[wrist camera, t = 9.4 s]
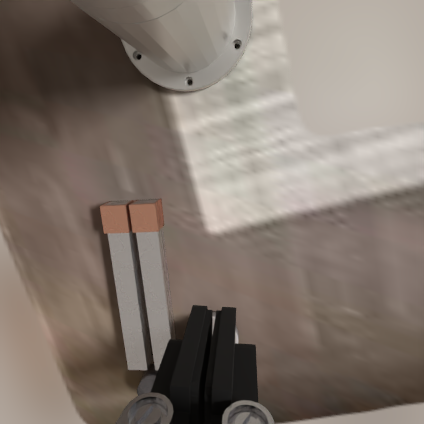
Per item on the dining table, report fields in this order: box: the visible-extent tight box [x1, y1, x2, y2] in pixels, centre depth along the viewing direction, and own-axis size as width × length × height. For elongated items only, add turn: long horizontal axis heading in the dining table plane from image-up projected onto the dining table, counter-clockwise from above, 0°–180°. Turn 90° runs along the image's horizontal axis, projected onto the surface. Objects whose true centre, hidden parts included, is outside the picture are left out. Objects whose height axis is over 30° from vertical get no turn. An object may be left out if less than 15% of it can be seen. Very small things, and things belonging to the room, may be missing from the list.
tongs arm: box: [100, 200, 152, 370], centre depth 37 cm, size 20×3×2 cm, turn 4°
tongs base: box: [129, 199, 176, 396], centre depth 37 cm, size 25×5×3 cm, turn 4°
